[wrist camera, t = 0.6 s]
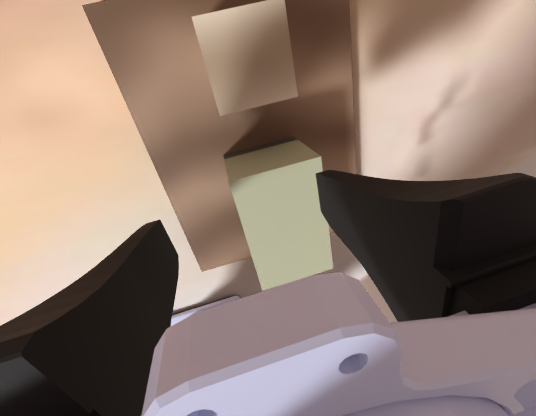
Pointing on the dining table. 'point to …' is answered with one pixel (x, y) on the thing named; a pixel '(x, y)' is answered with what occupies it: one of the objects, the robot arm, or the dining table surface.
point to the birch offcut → (247, 55)
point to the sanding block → (281, 210)
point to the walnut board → (206, 112)
